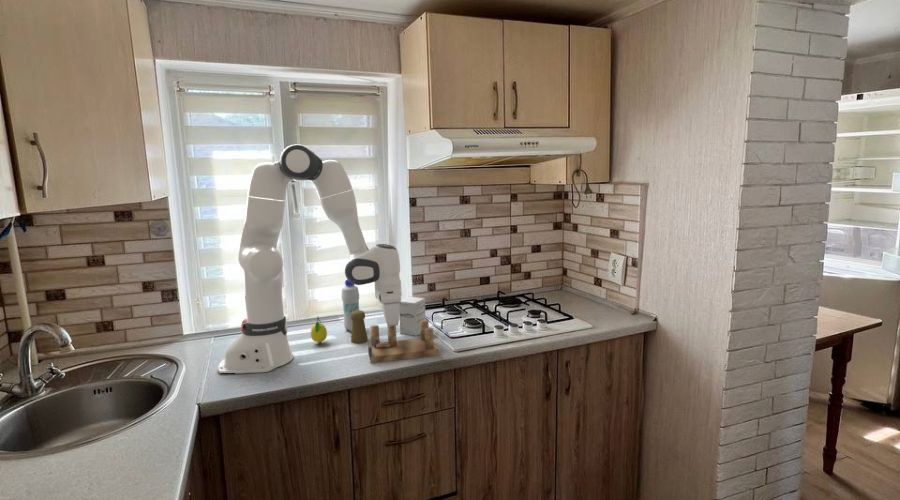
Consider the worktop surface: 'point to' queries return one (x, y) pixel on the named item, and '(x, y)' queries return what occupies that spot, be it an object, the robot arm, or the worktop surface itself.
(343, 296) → the bottle
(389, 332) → the folding leg
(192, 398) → the worktop surface
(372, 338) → the wooden peg board
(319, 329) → the lemon
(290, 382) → the worktop surface
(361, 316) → the cork
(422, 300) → the supplement box
